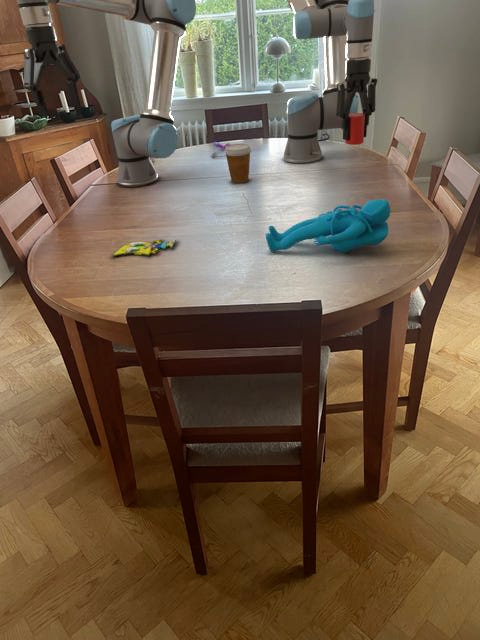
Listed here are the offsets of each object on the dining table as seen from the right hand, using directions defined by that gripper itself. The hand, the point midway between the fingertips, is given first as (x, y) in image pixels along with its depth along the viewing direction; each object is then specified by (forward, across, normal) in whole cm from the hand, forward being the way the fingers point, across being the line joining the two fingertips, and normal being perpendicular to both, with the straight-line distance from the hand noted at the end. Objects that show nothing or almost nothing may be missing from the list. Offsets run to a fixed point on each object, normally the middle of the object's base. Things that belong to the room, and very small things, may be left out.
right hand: (354, 137), depth 158 cm
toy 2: (+14, -37, -43) cm, 59 cm away
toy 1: (+14, -78, -17) cm, 81 cm away
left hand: (-18, -88, +21) cm, 92 cm away
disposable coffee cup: (+14, -32, +23) cm, 42 cm away
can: (+1, 0, 0) cm, 1 cm away
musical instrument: (+14, -22, +68) cm, 72 cm away
